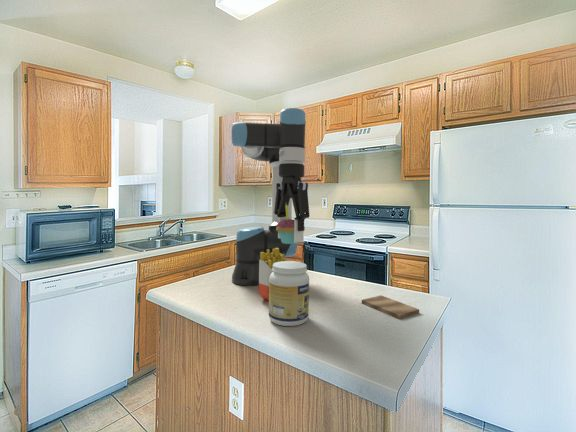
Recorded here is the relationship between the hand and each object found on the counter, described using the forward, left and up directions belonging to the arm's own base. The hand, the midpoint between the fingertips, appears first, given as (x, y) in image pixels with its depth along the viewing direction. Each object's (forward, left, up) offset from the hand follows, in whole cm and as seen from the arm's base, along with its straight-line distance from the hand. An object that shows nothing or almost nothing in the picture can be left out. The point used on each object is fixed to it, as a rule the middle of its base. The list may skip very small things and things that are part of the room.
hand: (290, 239), depth 92 cm
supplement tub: (0, 0, -25) cm, 25 cm away
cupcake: (0, 0, -1) cm, 1 cm away
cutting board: (+9, +35, -24) cm, 44 cm away
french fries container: (-18, +5, -25) cm, 31 cm away
